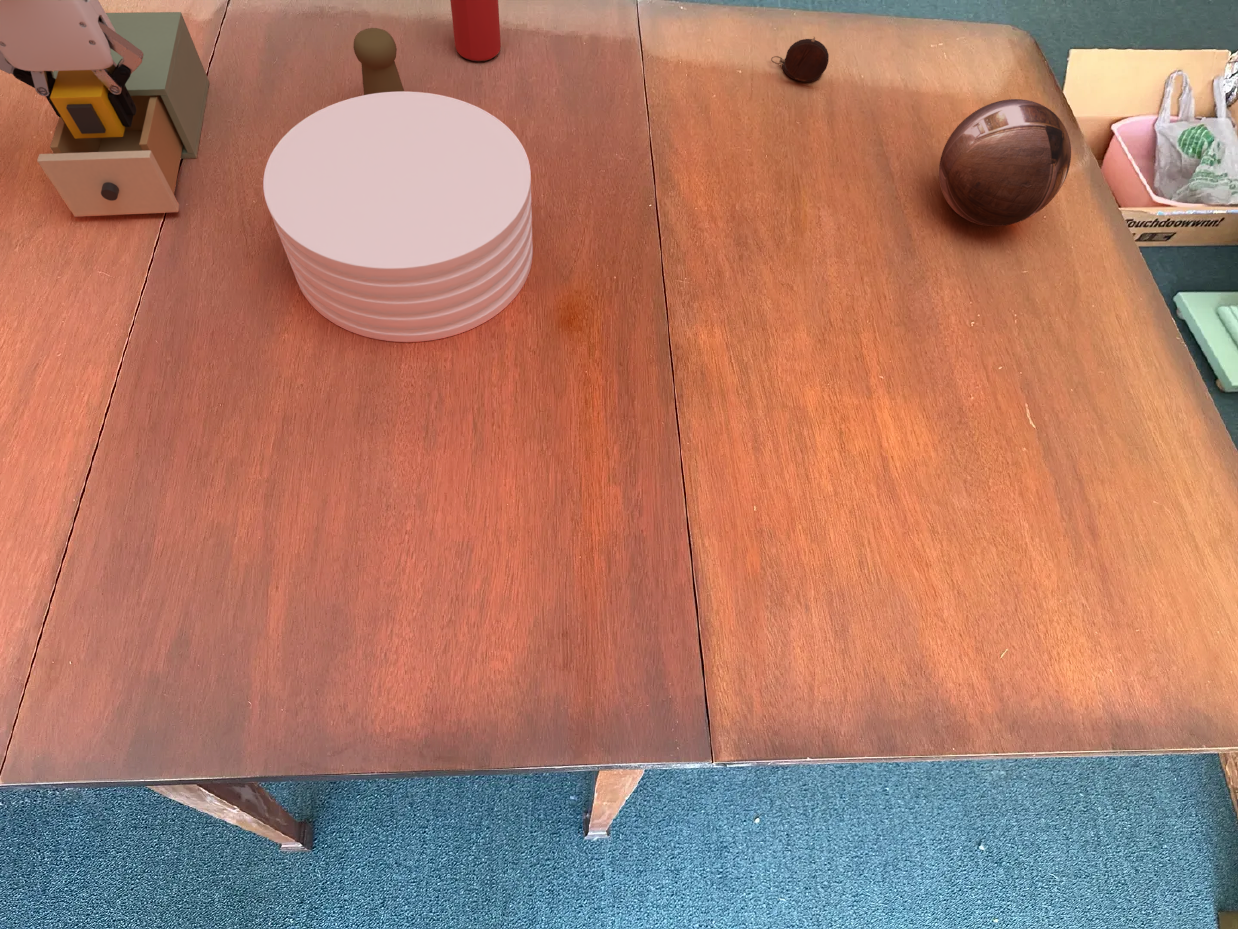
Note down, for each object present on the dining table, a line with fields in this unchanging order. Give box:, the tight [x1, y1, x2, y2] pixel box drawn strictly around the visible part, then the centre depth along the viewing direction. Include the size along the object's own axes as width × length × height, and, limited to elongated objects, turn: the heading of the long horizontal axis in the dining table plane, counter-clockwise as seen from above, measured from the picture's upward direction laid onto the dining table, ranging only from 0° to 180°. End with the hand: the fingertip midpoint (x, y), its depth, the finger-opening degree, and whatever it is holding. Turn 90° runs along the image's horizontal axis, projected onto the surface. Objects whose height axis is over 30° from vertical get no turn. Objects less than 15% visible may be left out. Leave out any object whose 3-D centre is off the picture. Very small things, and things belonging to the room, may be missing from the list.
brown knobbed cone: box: [353, 27, 405, 95], centre depth 101 cm, size 6×6×11 cm
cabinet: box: [53, 11, 210, 160], centre depth 97 cm, size 16×13×10 cm
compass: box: [770, 36, 830, 83], centre depth 115 cm, size 8×8×7 cm
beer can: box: [449, 0, 502, 62], centre depth 109 cm, size 7×7×12 cm
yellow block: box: [50, 70, 125, 139], centre depth 86 cm, size 5×6×5 cm
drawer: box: [36, 95, 183, 218], centre depth 92 cm, size 16×11×8 cm
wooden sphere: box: [938, 98, 1072, 227], centre depth 99 cm, size 15×15×15 cm
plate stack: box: [262, 90, 534, 343], centre depth 89 cm, size 28×28×12 cm
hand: (101, 118), depth 88 cm, fingers closed on yellow block, 5 cm apart
